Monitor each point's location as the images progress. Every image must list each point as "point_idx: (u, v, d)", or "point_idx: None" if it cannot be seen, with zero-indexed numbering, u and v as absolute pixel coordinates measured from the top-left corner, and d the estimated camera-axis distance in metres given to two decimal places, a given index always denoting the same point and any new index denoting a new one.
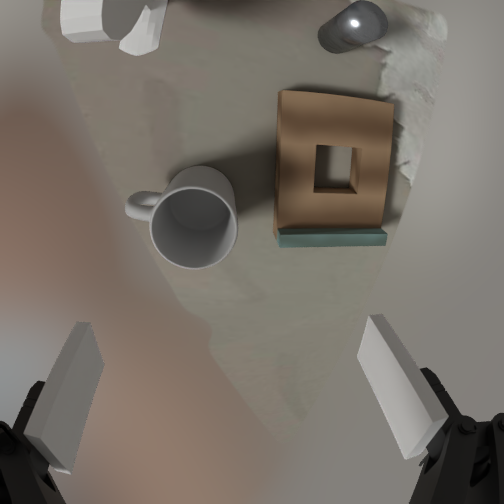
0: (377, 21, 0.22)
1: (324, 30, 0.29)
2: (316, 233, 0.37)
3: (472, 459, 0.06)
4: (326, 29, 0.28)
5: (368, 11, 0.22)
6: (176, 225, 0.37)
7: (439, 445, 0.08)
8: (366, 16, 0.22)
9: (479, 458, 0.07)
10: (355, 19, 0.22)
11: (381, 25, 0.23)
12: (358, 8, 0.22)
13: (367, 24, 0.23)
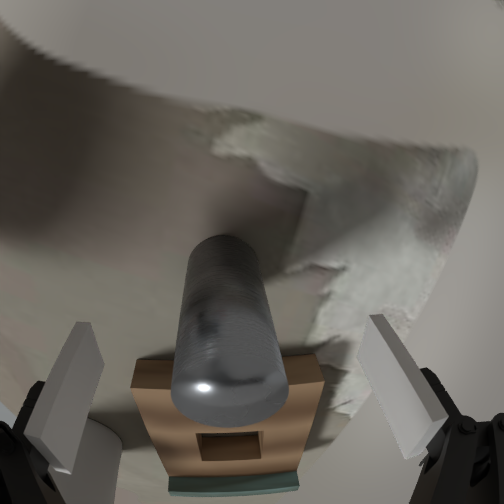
0: (256, 396, 0.11)
1: None
2: (209, 490, 0.26)
3: (472, 459, 0.06)
4: None
5: (230, 381, 0.10)
6: None
7: (439, 445, 0.08)
8: (224, 394, 0.11)
9: (479, 458, 0.07)
10: (194, 403, 0.11)
11: (268, 400, 0.11)
12: (199, 381, 0.10)
13: (227, 406, 0.11)
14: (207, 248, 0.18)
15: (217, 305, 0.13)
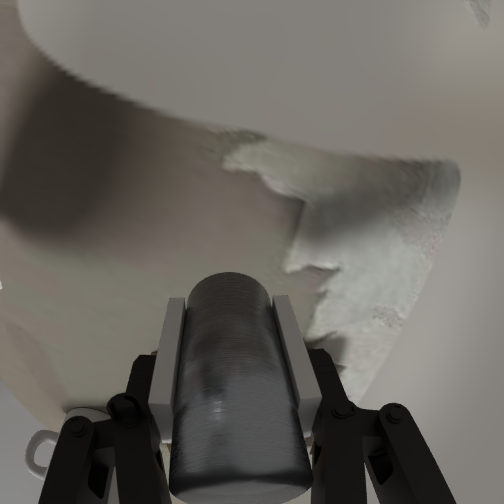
0: (274, 489, 0.08)
1: None
2: None
3: (359, 443, 0.08)
4: None
5: (242, 480, 0.07)
6: None
7: (319, 433, 0.10)
8: (234, 489, 0.07)
9: (369, 450, 0.09)
10: (197, 495, 0.07)
11: (287, 490, 0.08)
12: (204, 481, 0.07)
13: (238, 497, 0.08)
14: (210, 290, 0.14)
15: (224, 382, 0.09)
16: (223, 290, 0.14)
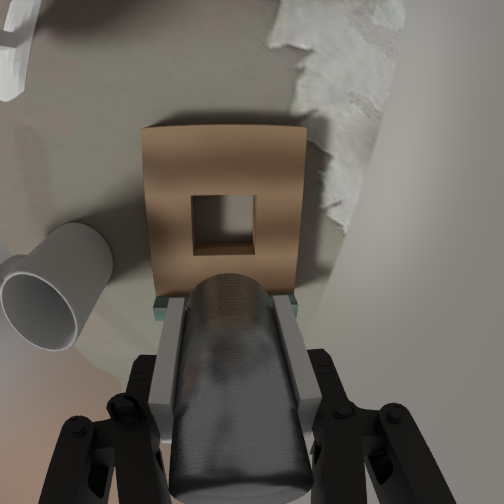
0: (274, 491, 0.07)
1: None
2: None
3: (359, 443, 0.08)
4: None
5: (242, 482, 0.07)
6: (53, 289, 0.30)
7: (319, 433, 0.10)
8: (234, 491, 0.07)
9: (369, 450, 0.09)
10: (197, 497, 0.07)
11: (288, 492, 0.08)
12: (204, 483, 0.07)
13: (238, 498, 0.08)
14: (210, 291, 0.14)
15: (224, 383, 0.09)
16: (223, 291, 0.14)
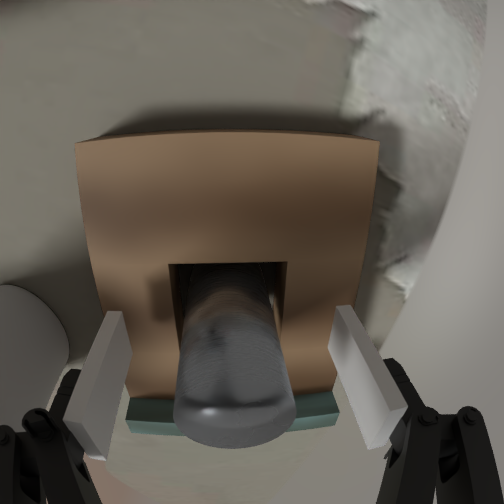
0: (263, 418, 0.10)
1: None
2: None
3: (437, 450, 0.07)
4: None
5: (235, 404, 0.10)
6: None
7: (401, 438, 0.09)
8: (229, 416, 0.10)
9: (444, 452, 0.08)
10: (197, 426, 0.10)
11: (274, 422, 0.10)
12: (203, 405, 0.10)
13: (232, 428, 0.10)
14: None
15: (221, 324, 0.12)
16: None
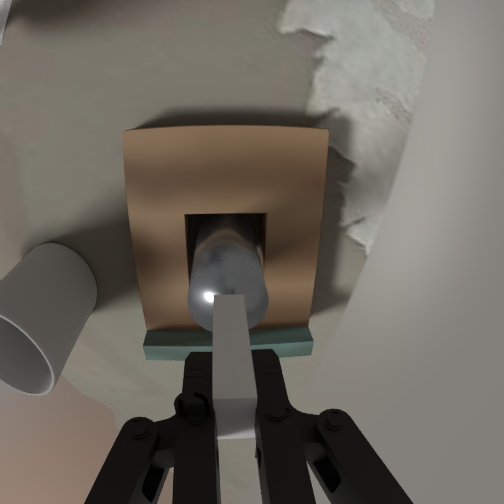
0: (246, 302, 0.17)
1: None
2: (196, 344, 0.25)
3: (299, 444, 0.08)
4: None
5: (228, 287, 0.17)
6: None
7: (258, 437, 0.09)
8: None
9: (310, 456, 0.09)
10: (202, 309, 0.17)
11: (254, 307, 0.17)
12: (207, 287, 0.16)
13: None
14: (213, 216, 0.24)
15: (220, 244, 0.19)
16: (221, 215, 0.24)
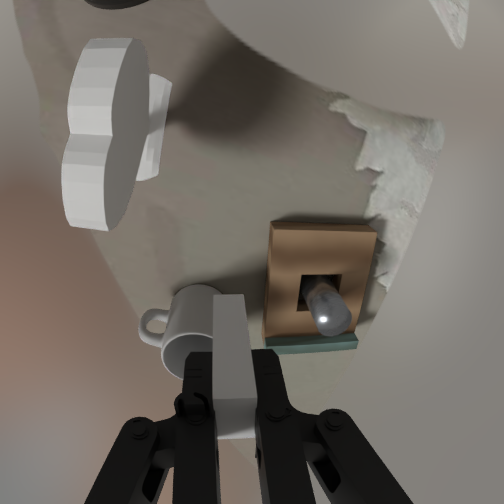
0: (342, 321, 0.36)
1: (303, 291, 0.43)
2: (297, 344, 0.44)
3: (299, 445, 0.08)
4: (304, 294, 0.42)
5: (336, 315, 0.36)
6: None
7: (258, 438, 0.09)
8: (333, 320, 0.36)
9: (310, 456, 0.09)
10: (323, 325, 0.36)
11: (345, 323, 0.36)
12: (328, 315, 0.36)
13: (333, 326, 0.36)
14: None
15: (328, 293, 0.38)
16: None
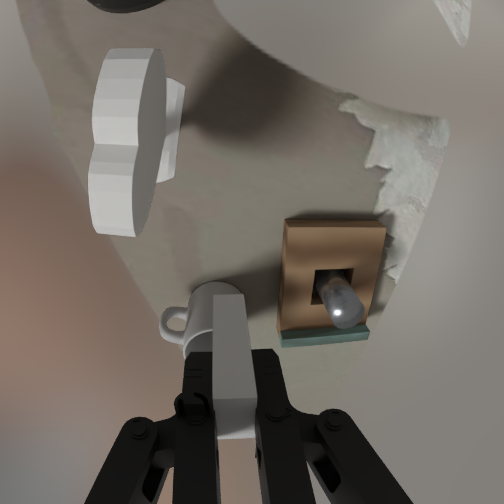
0: (355, 314, 0.38)
1: (316, 286, 0.44)
2: (311, 336, 0.45)
3: (299, 445, 0.08)
4: (318, 288, 0.43)
5: (350, 308, 0.37)
6: None
7: (258, 438, 0.09)
8: (347, 313, 0.38)
9: (310, 456, 0.09)
10: (337, 317, 0.38)
11: (358, 315, 0.38)
12: (342, 308, 0.37)
13: (346, 318, 0.38)
14: None
15: (341, 287, 0.39)
16: None
